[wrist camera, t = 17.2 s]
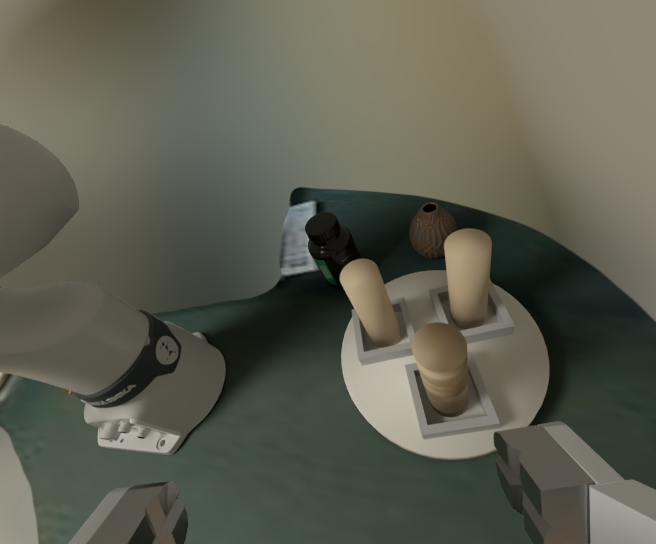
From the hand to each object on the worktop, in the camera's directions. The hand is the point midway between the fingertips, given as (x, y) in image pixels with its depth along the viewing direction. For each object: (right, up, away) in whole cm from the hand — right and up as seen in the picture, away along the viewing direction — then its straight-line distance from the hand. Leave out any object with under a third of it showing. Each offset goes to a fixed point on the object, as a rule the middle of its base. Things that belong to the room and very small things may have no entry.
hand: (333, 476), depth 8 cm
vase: (+17, +9, +41) cm, 45 cm away
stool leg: (+13, -8, +25) cm, 29 cm away
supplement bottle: (+3, +5, +44) cm, 45 cm away
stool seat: (+13, -5, +31) cm, 34 cm away
